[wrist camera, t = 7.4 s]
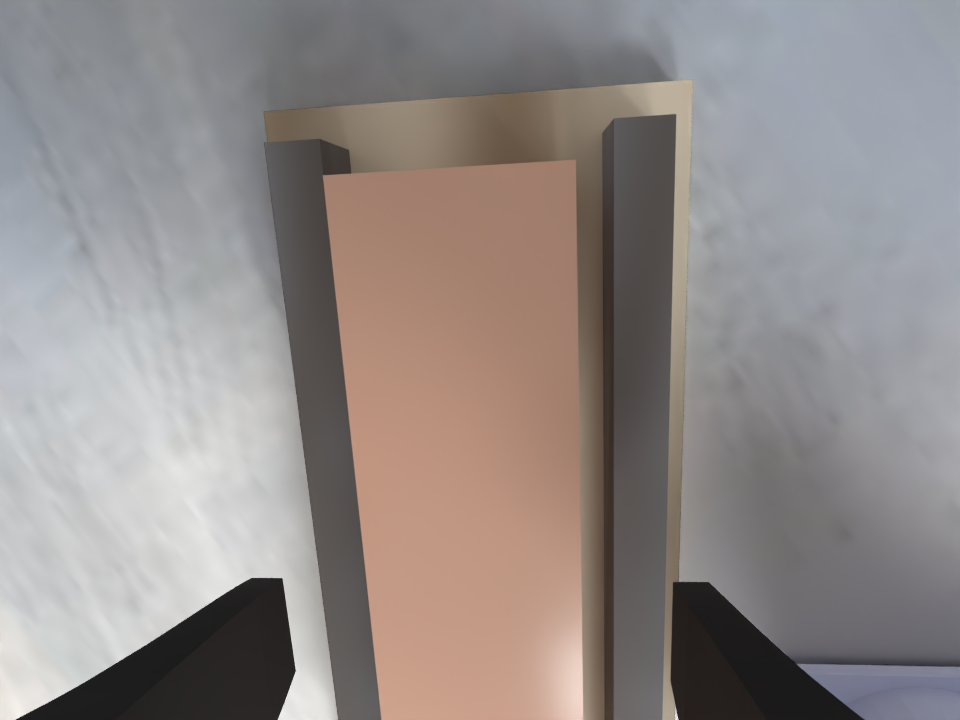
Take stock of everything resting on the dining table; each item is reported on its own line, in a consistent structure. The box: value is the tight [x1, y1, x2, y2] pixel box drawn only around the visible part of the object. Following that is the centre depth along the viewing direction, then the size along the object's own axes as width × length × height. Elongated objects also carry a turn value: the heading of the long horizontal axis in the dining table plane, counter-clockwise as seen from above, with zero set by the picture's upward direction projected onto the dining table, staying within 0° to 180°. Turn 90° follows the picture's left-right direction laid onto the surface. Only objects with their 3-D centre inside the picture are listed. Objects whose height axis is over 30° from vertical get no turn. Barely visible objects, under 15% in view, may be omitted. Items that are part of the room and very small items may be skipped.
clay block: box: [323, 160, 583, 720], centre depth 13 cm, size 4×16×5 cm, turn 3°
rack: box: [264, 79, 693, 720], centre depth 15 cm, size 10×20×3 cm, turn 3°
